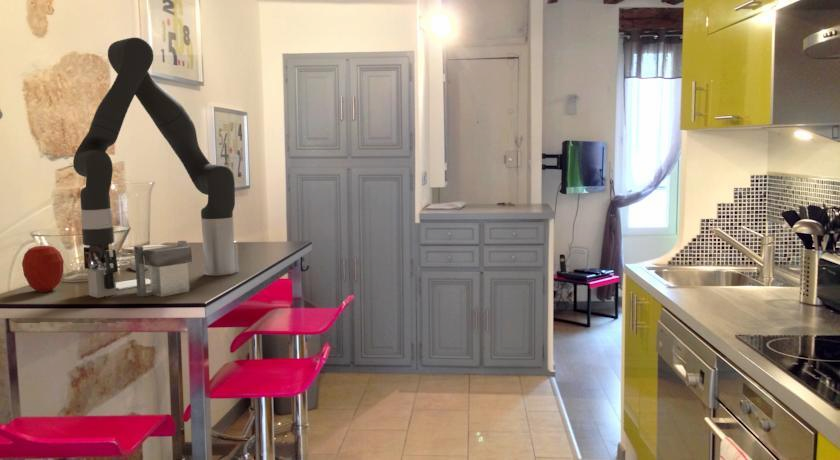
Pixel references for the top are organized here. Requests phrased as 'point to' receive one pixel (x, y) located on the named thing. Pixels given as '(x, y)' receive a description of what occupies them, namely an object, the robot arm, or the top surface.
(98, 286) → the stone block
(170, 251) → the trapdoor
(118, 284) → the mat
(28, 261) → the apple
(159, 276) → the frame
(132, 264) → the decorative stone
